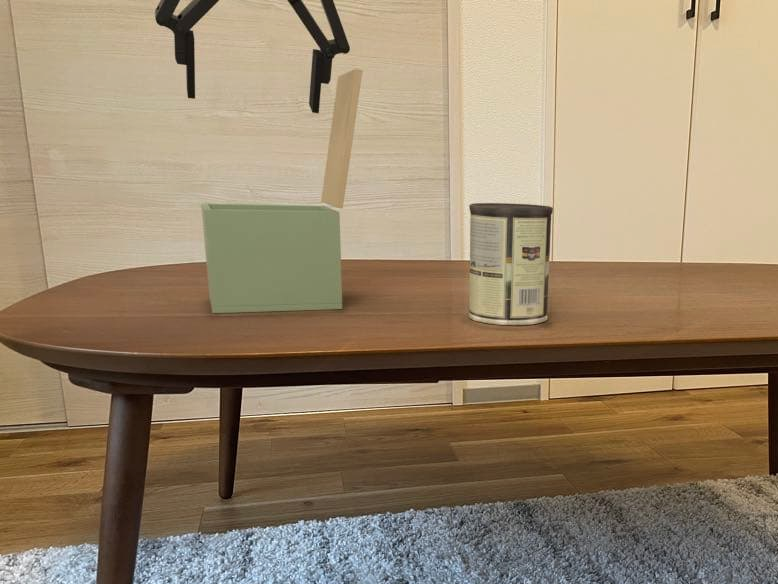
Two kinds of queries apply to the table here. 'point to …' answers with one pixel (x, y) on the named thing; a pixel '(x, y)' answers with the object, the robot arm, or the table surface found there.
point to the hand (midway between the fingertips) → (254, 102)
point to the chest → (272, 257)
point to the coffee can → (509, 263)
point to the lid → (341, 138)
